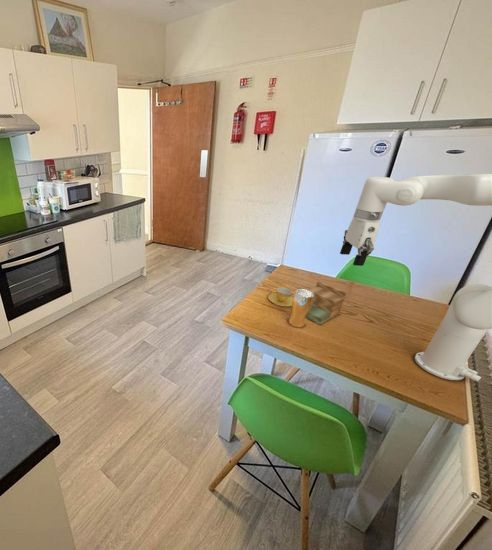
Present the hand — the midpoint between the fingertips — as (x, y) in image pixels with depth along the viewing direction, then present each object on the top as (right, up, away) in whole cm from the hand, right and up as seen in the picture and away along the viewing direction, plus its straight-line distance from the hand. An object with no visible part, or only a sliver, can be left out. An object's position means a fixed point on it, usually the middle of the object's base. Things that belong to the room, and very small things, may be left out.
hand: (350, 259), depth 110 cm
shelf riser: (+2, -23, +24) cm, 33 cm away
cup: (-9, -18, +33) cm, 39 cm away
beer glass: (-11, -27, +17) cm, 33 cm away
